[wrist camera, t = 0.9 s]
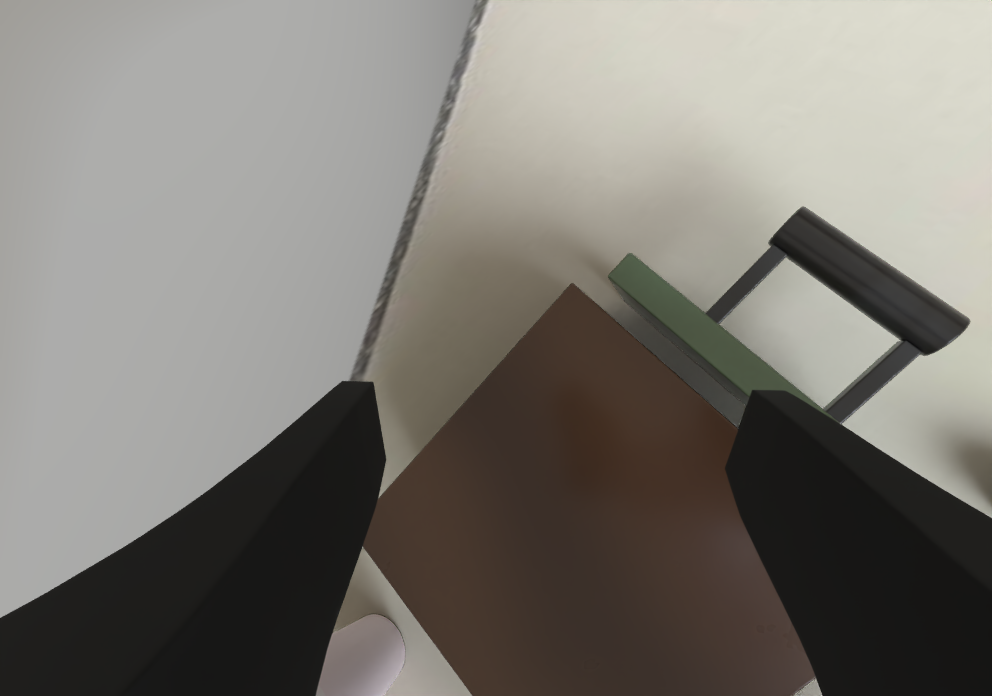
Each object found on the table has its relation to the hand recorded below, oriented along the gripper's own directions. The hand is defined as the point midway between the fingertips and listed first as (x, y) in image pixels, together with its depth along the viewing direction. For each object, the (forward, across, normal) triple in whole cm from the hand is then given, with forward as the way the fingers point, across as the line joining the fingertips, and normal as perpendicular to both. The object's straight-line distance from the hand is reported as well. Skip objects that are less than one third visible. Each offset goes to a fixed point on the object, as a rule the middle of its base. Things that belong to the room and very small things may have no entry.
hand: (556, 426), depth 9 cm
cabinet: (+9, -4, +13) cm, 16 cm away
